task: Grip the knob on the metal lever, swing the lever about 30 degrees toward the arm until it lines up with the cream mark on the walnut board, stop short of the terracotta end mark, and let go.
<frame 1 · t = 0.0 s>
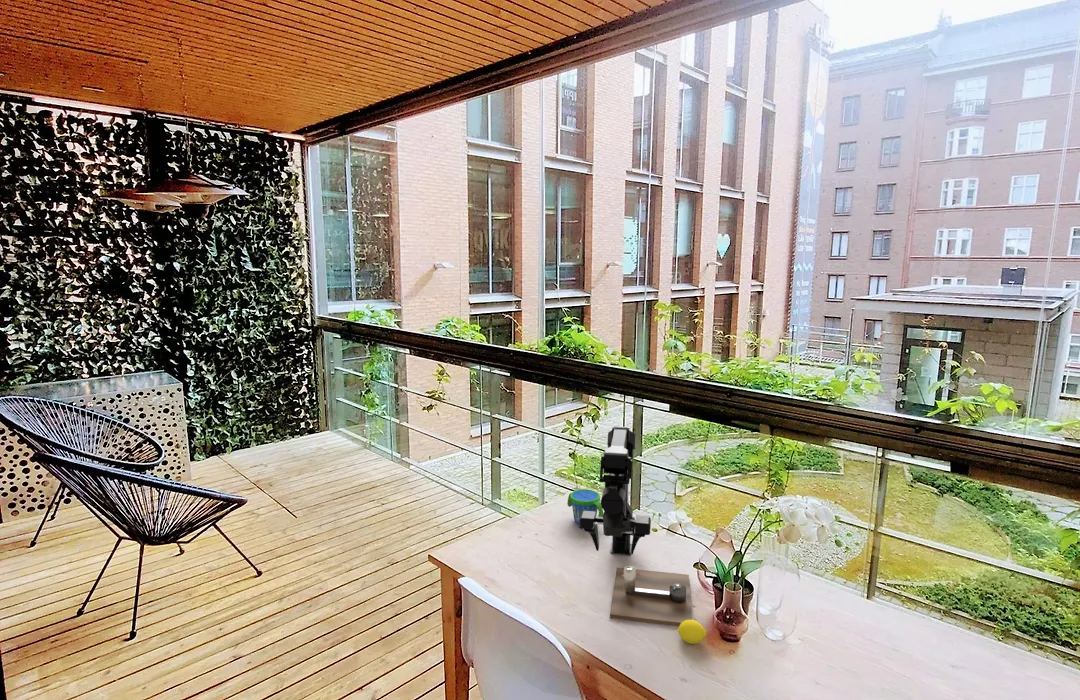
hand: (614, 551, 154), 15 cm above the table, tool pointing down, fingers open, 9 cm apart
lemon: (691, 642, 140), on the table
lever: (654, 583, 155), point 5 cm above the table, hinge at 0.0°
snack cup: (585, 522, 203), on the table
board: (651, 597, 158), on the table
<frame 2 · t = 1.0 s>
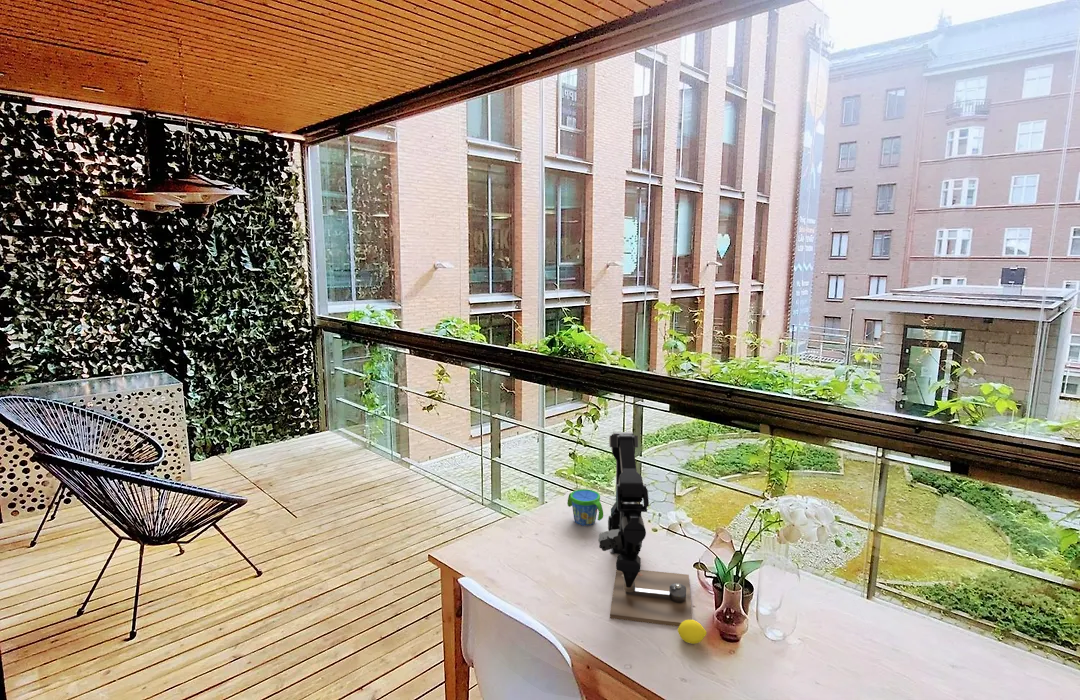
hand: (629, 577, 157), 6 cm above the table, tool pointing down, fingers open, 9 cm apart
nothing on the table moved.
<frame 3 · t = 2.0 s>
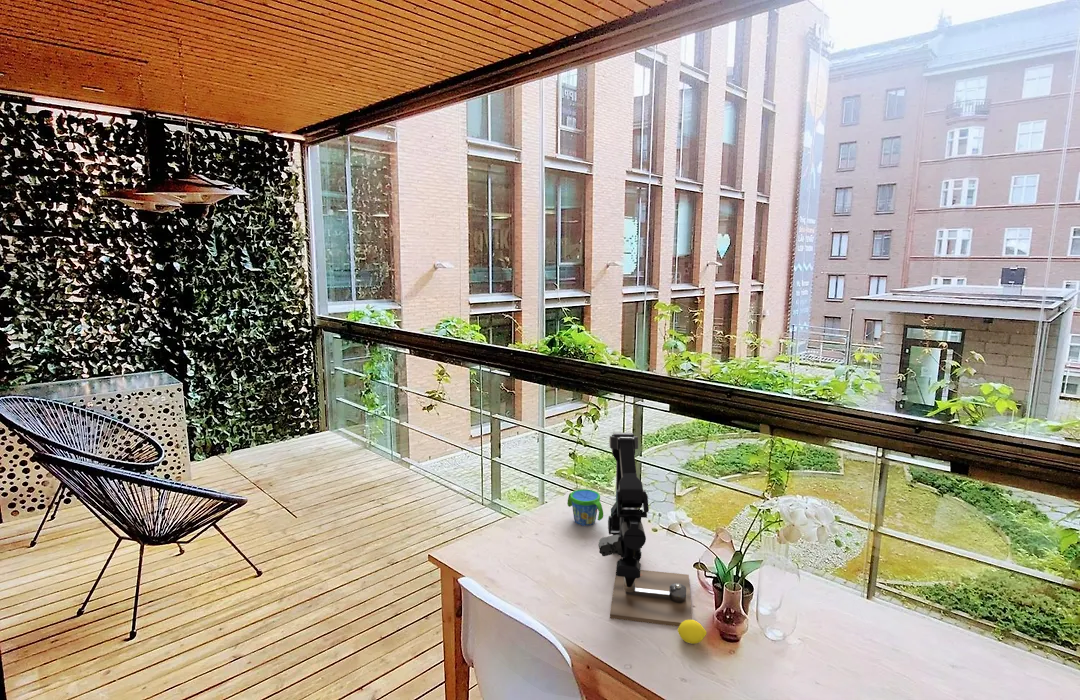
hand: (629, 583, 157), 5 cm above the table, tool pointing down, fingers closed on lever, 3 cm apart
lever: (654, 583, 155), point 5 cm above the table, hinge at 0.0°, touching gripper
everything else where it was.
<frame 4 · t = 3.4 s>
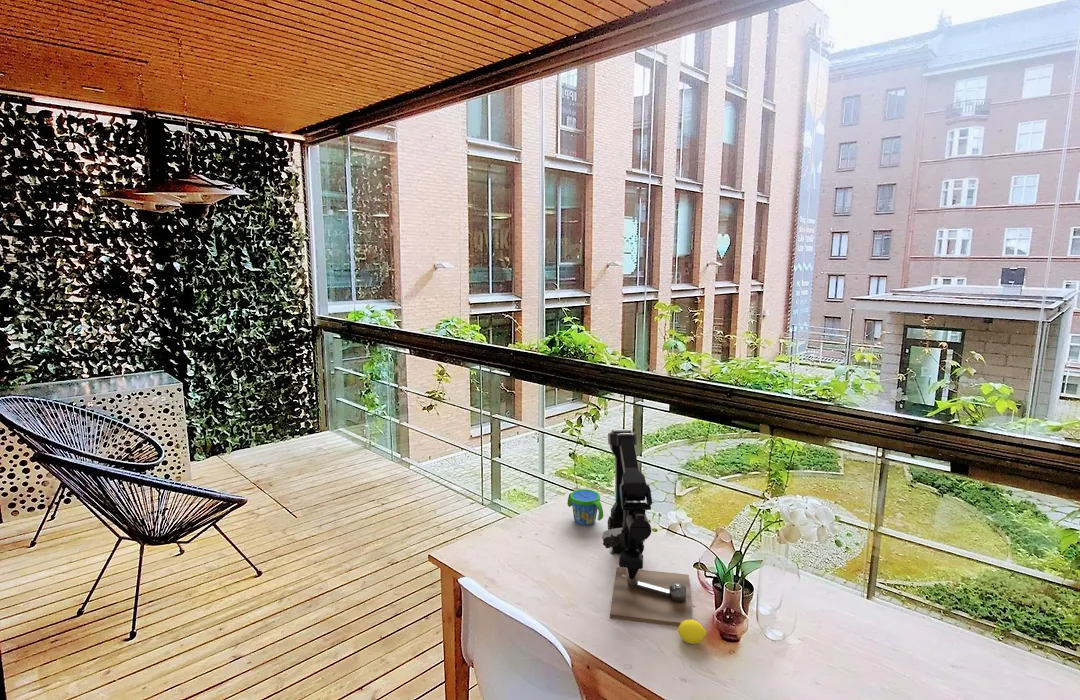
hand: (632, 575, 161), 5 cm above the table, tool pointing down, fingers open, 4 cm apart
lever: (655, 579, 157), point 5 cm above the table, hinge at 17.0°, touching gripper
everything else where it was.
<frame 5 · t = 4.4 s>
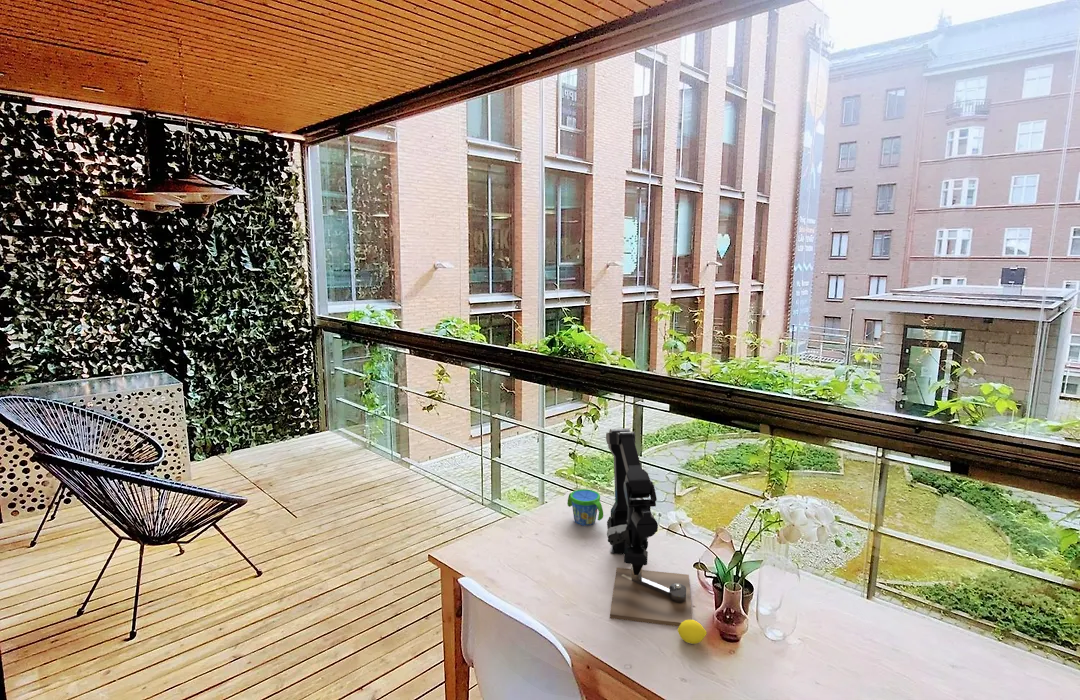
hand: (636, 571, 163), 5 cm above the table, tool pointing down, fingers closed on lever, 3 cm apart
lever: (657, 577, 158), point 5 cm above the table, hinge at 28.7°, touching gripper
everything else where it was.
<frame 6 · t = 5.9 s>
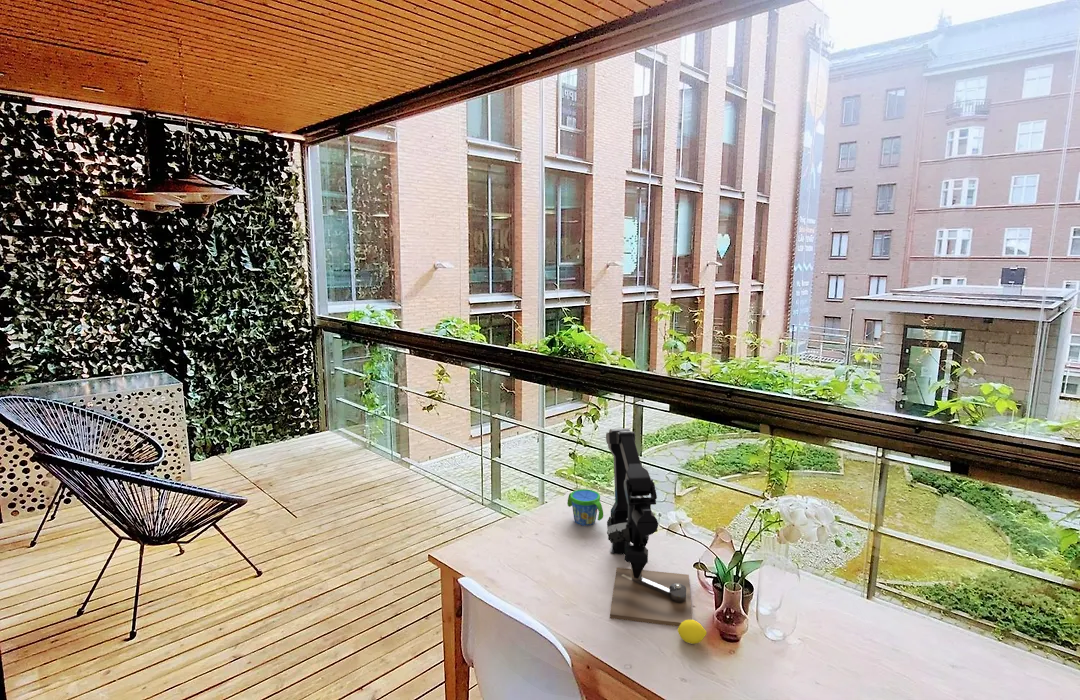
hand: (636, 569, 163), 5 cm above the table, tool pointing down, fingers open, 9 cm apart
lever: (657, 577, 158), point 5 cm above the table, hinge at 29.2°
everything else where it was.
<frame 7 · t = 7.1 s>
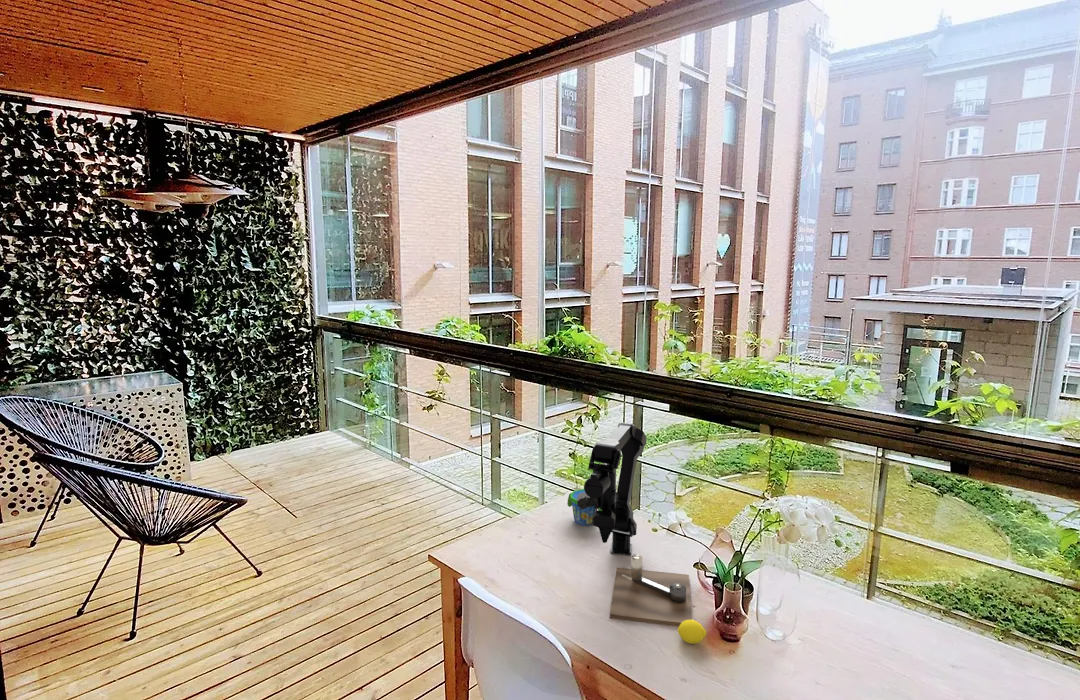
hand: (605, 534, 169), 12 cm above the table, tool pointing down, fingers open, 9 cm apart
nothing on the table moved.
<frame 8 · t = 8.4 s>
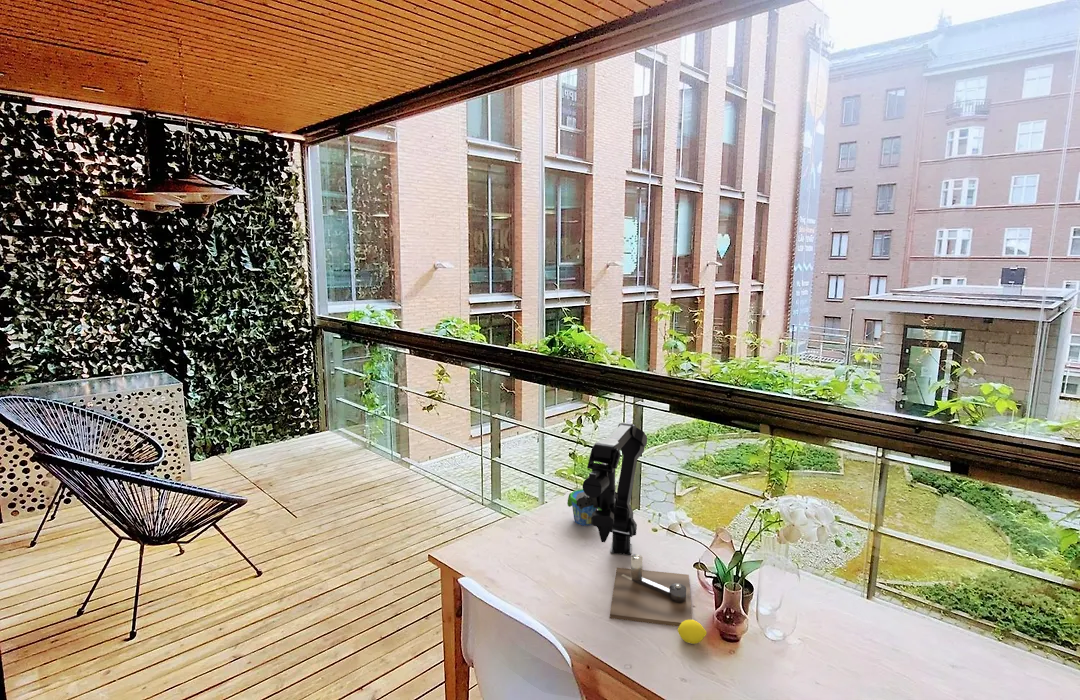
hand: (604, 534, 169), 12 cm above the table, tool pointing down, fingers open, 9 cm apart
nothing on the table moved.
at the end: lever at +29° (first picture: +0°); the gripper is holding nothing; lemon moved 0.3 cm from its start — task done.
